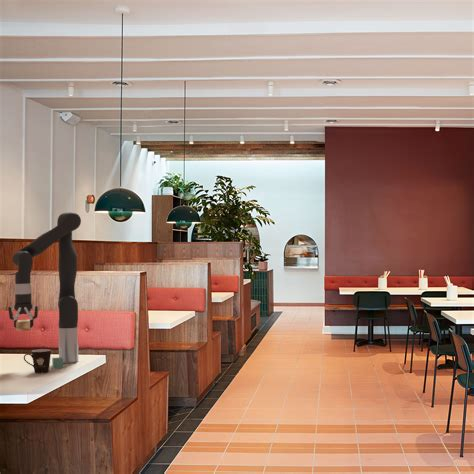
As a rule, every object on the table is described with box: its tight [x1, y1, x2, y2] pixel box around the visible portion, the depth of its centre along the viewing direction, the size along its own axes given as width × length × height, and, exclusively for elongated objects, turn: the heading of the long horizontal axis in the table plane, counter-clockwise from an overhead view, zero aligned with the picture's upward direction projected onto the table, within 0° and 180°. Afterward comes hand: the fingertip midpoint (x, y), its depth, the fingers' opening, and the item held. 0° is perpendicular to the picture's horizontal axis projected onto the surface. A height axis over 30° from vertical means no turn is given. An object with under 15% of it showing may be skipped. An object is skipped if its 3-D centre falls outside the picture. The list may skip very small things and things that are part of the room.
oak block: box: [15, 319, 32, 332], centre depth 330 cm, size 6×11×4 cm, turn 12°
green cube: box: [51, 356, 64, 369], centre depth 330 cm, size 4×4×4 cm
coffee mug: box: [23, 348, 52, 374], centre depth 318 cm, size 12×9×10 cm
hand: (23, 327), depth 330 cm, fingers closed on oak block, 6 cm apart
